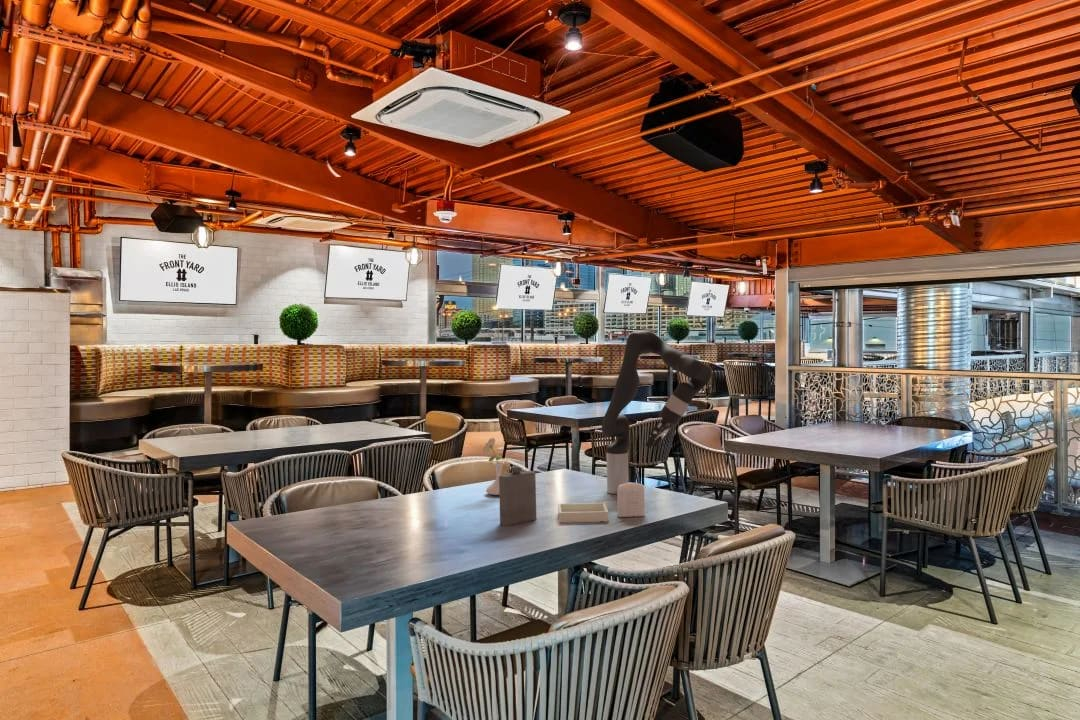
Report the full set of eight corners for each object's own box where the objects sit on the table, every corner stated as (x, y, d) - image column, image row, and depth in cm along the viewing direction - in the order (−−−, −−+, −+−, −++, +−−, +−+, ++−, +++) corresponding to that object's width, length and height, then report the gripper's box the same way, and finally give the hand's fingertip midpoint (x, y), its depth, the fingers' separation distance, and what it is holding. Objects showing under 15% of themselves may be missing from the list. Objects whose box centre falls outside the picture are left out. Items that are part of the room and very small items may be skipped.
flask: (530, 516, 245) (528, 463, 245) (539, 519, 241) (537, 465, 240) (496, 523, 237) (494, 468, 236) (504, 526, 232) (503, 470, 232)
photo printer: (642, 513, 246) (642, 481, 246) (646, 516, 242) (645, 483, 241) (616, 515, 244) (615, 482, 244) (619, 518, 240) (618, 484, 240)
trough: (558, 513, 250) (558, 503, 250) (604, 511, 250) (604, 502, 250) (559, 522, 236) (559, 512, 236) (608, 521, 236) (608, 511, 236)
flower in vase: (501, 490, 292) (499, 434, 292) (517, 494, 284) (516, 436, 283) (477, 495, 283) (476, 437, 283) (494, 499, 275) (492, 439, 275)
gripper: (670, 404, 247) (647, 440, 249) (660, 403, 234) (636, 441, 236) (686, 415, 244) (663, 451, 246) (678, 415, 231) (654, 453, 234)
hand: (650, 446), depth 241 cm, fingers open, 8 cm apart
